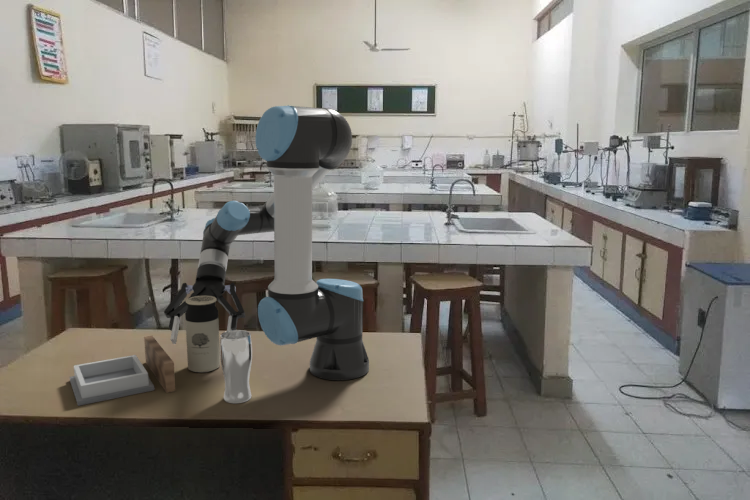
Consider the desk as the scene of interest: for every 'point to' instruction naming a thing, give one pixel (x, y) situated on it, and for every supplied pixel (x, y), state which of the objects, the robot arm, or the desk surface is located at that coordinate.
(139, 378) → the socket
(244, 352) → the beer glass
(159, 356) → the door edge rail
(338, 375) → the robot arm
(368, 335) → the desk surface
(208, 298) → the travel mug
